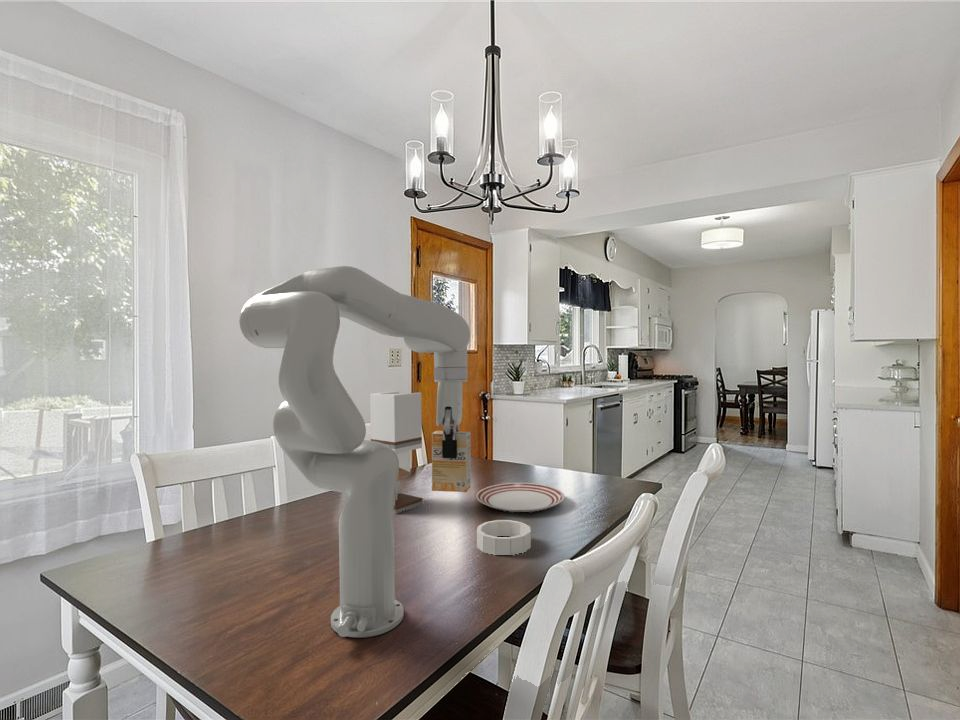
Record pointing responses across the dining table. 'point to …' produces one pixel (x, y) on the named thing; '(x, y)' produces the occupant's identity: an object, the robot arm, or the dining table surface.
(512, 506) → the dinner plate
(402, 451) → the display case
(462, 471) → the supplement box
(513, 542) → the white faceted ring
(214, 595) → the dining table surface
